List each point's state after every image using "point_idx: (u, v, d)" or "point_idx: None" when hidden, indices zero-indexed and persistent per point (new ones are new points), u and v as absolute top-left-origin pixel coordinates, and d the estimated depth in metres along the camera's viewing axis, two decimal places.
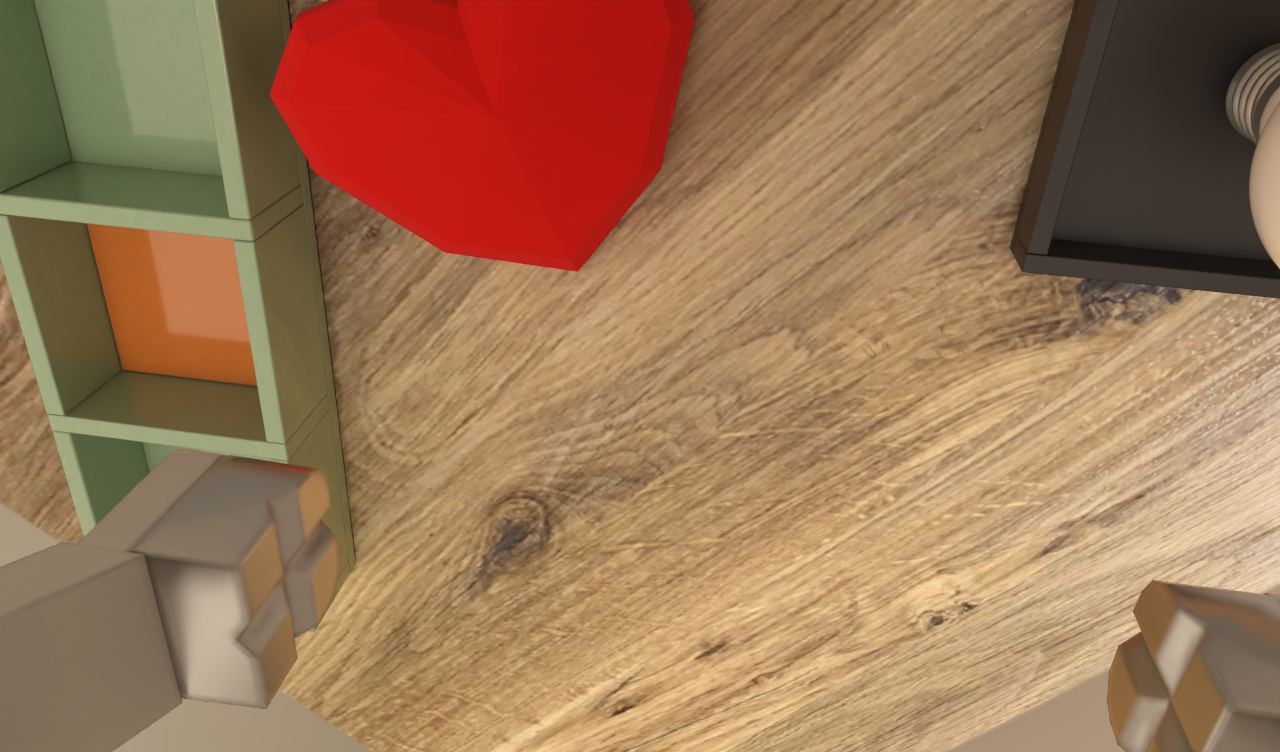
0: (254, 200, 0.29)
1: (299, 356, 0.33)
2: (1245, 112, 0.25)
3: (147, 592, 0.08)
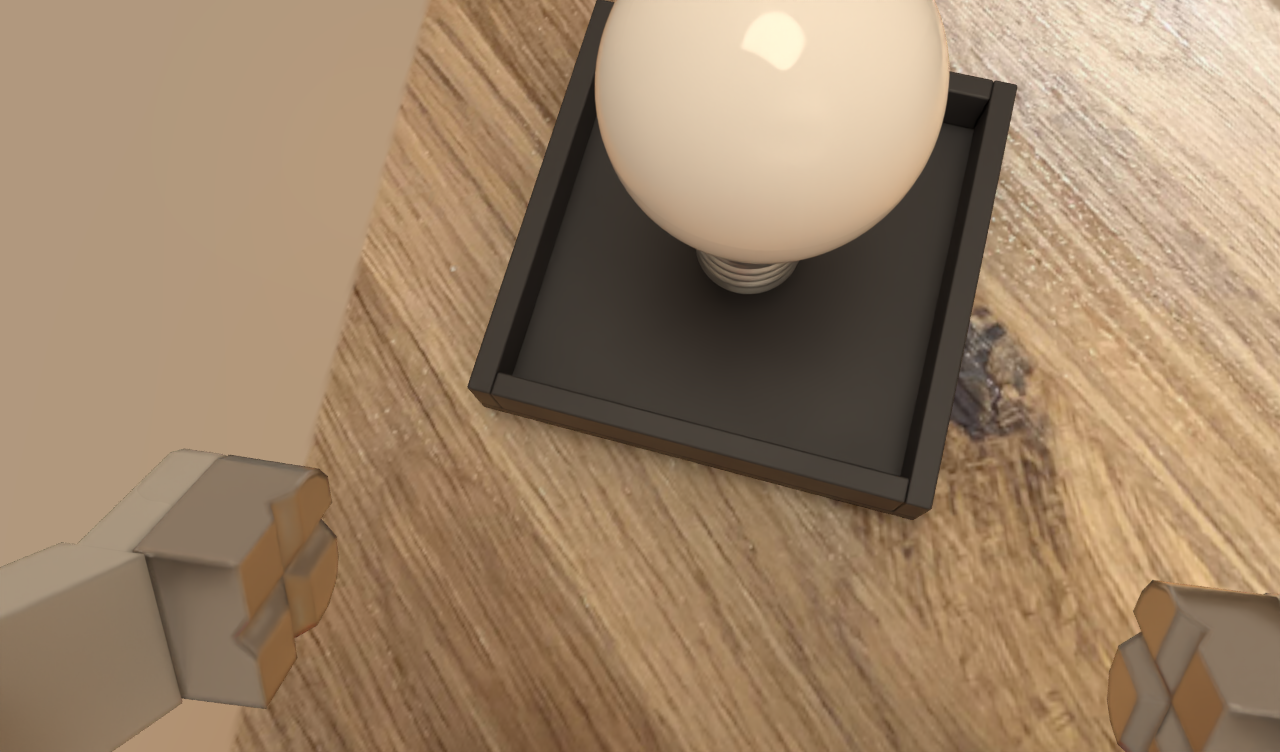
0: None
1: None
2: (751, 274, 0.23)
3: (147, 592, 0.08)
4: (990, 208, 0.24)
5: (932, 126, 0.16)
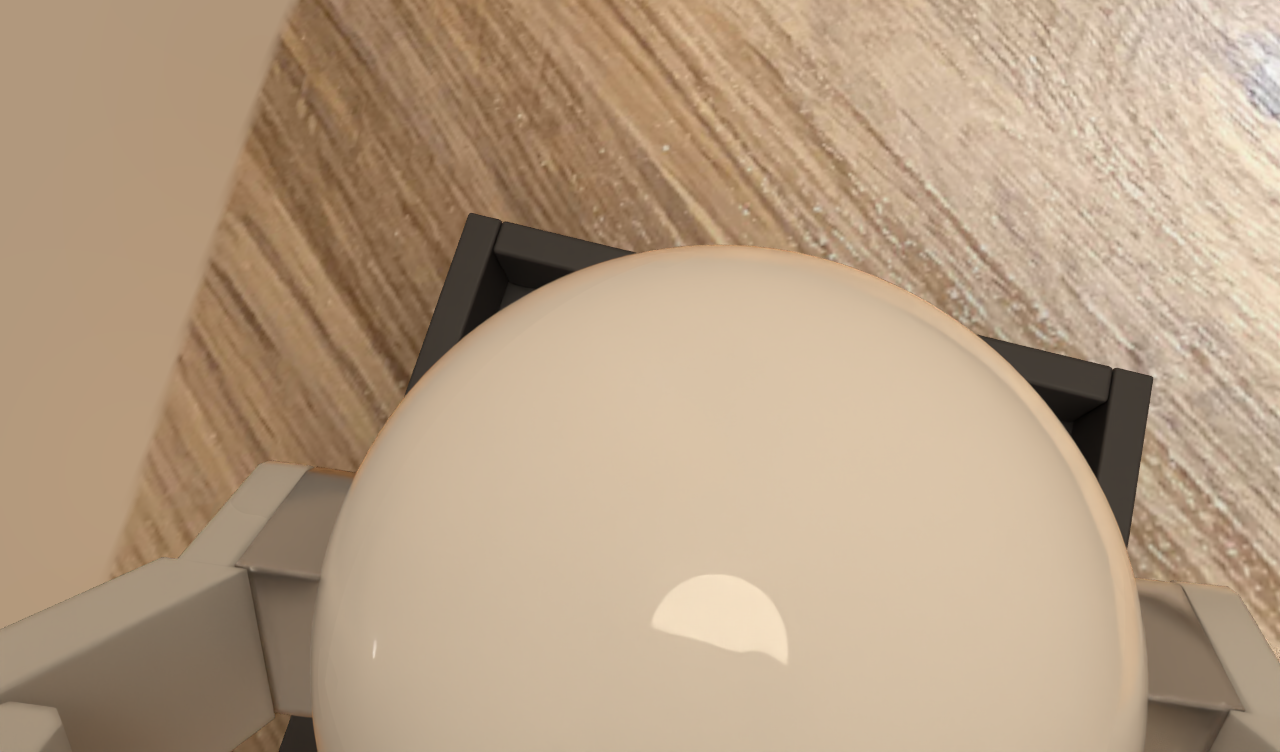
0: None
1: None
2: None
3: (248, 607, 0.08)
4: None
5: None
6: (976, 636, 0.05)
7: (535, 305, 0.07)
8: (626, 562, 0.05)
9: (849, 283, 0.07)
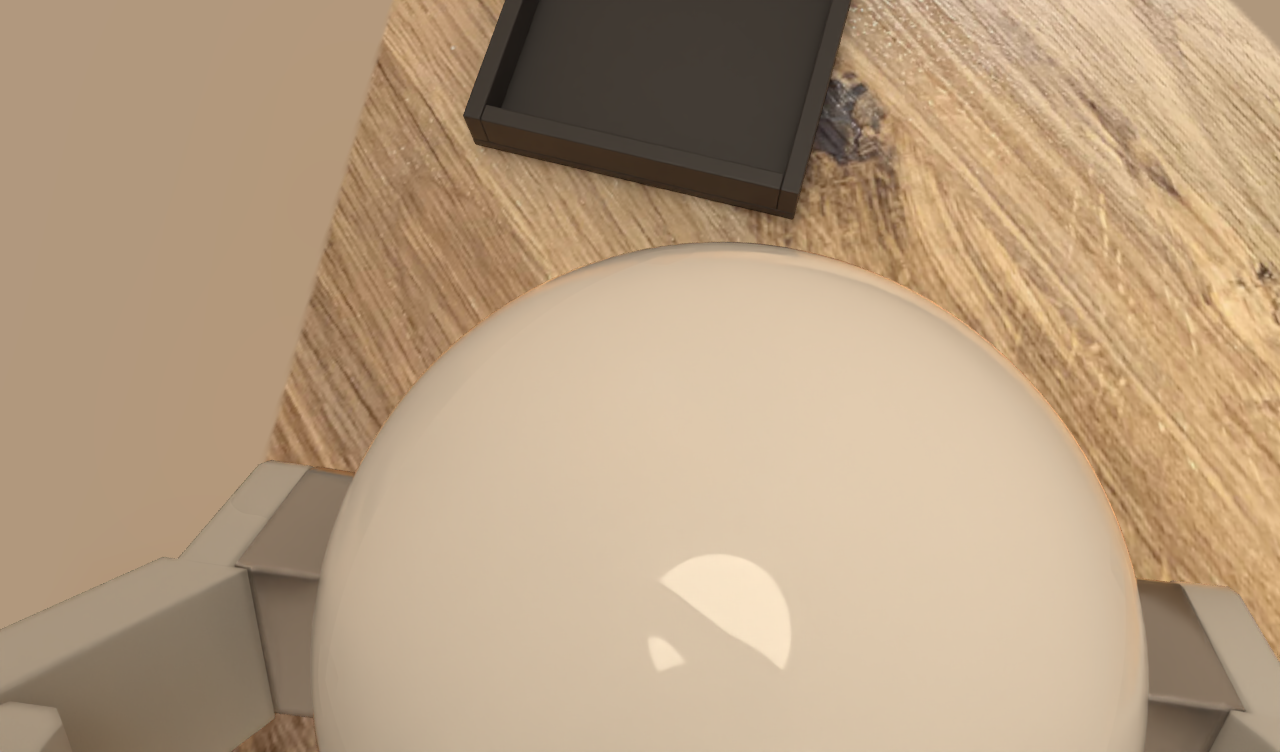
0: None
1: None
2: None
3: (248, 607, 0.08)
4: None
5: None
6: (977, 630, 0.05)
7: (535, 302, 0.07)
8: (626, 556, 0.05)
9: (849, 280, 0.07)
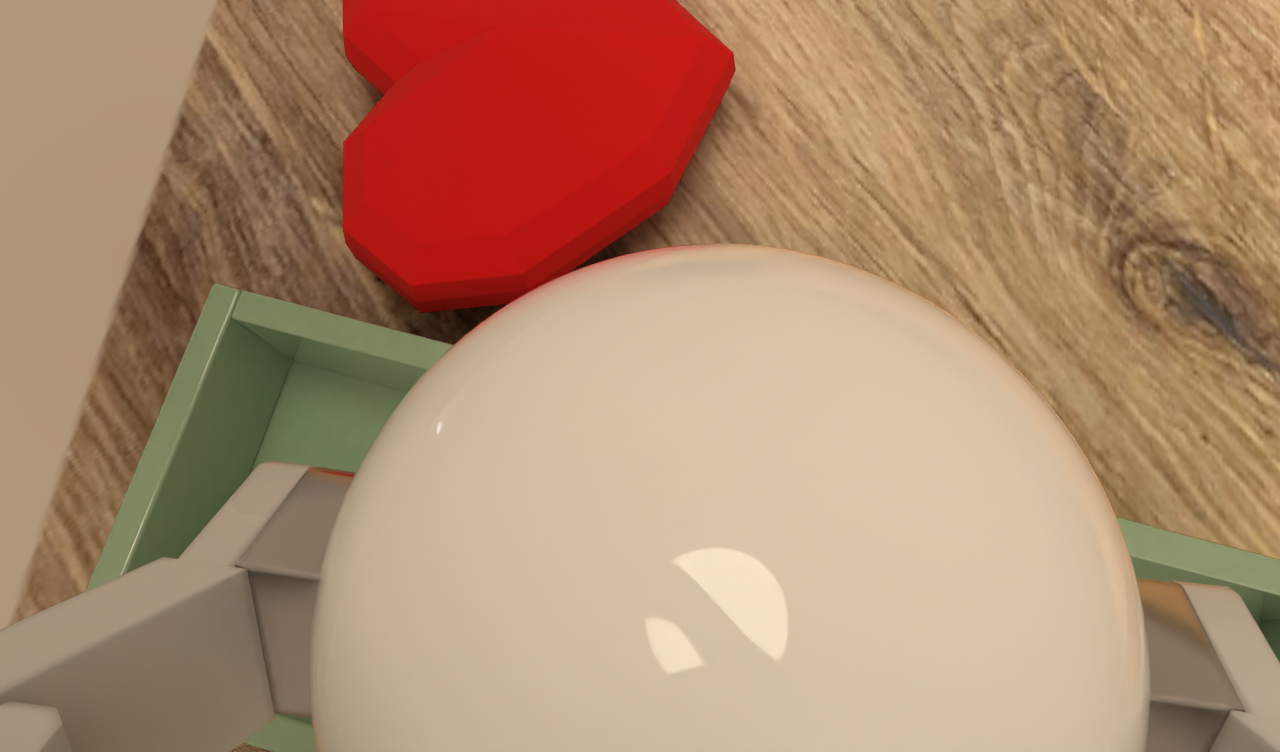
0: None
1: None
2: None
3: (248, 607, 0.08)
4: None
5: None
6: (978, 635, 0.05)
7: (535, 304, 0.07)
8: (626, 561, 0.05)
9: (850, 282, 0.07)
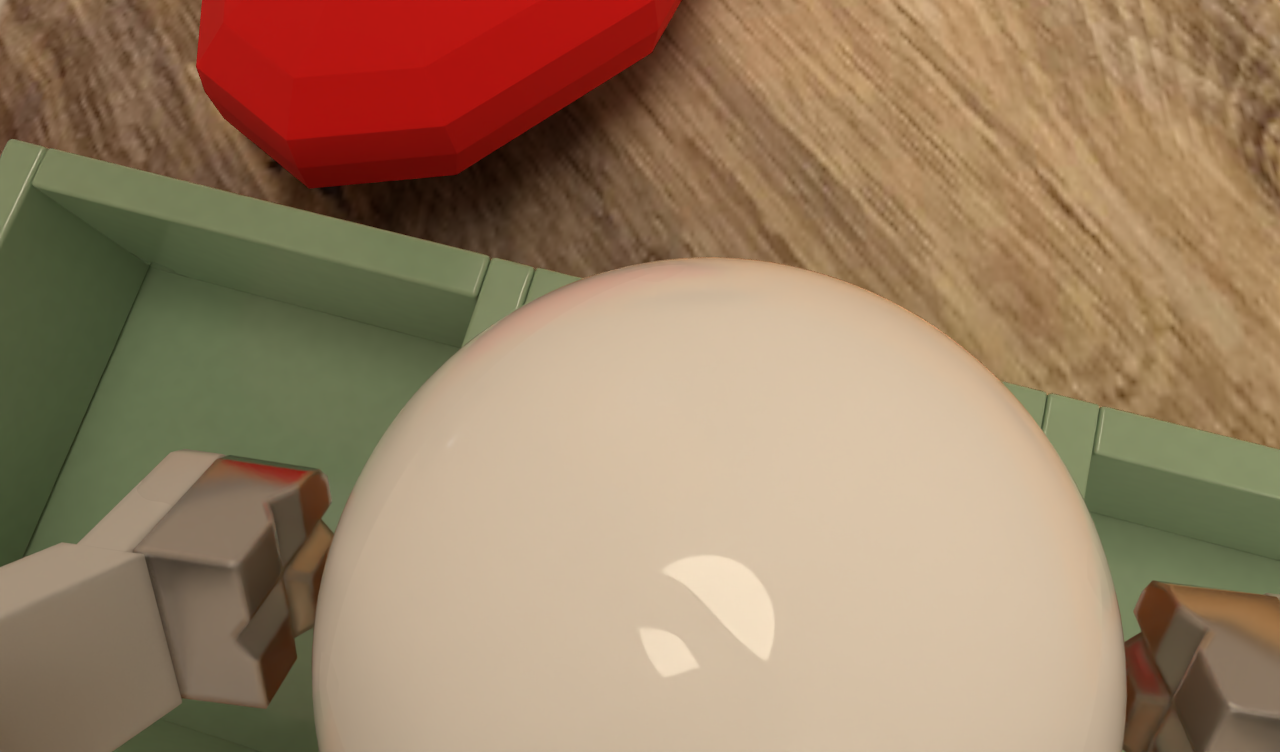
0: None
1: None
2: None
3: (147, 592, 0.08)
4: None
5: None
6: (956, 641, 0.05)
7: (530, 318, 0.07)
8: (618, 570, 0.05)
9: (836, 297, 0.07)
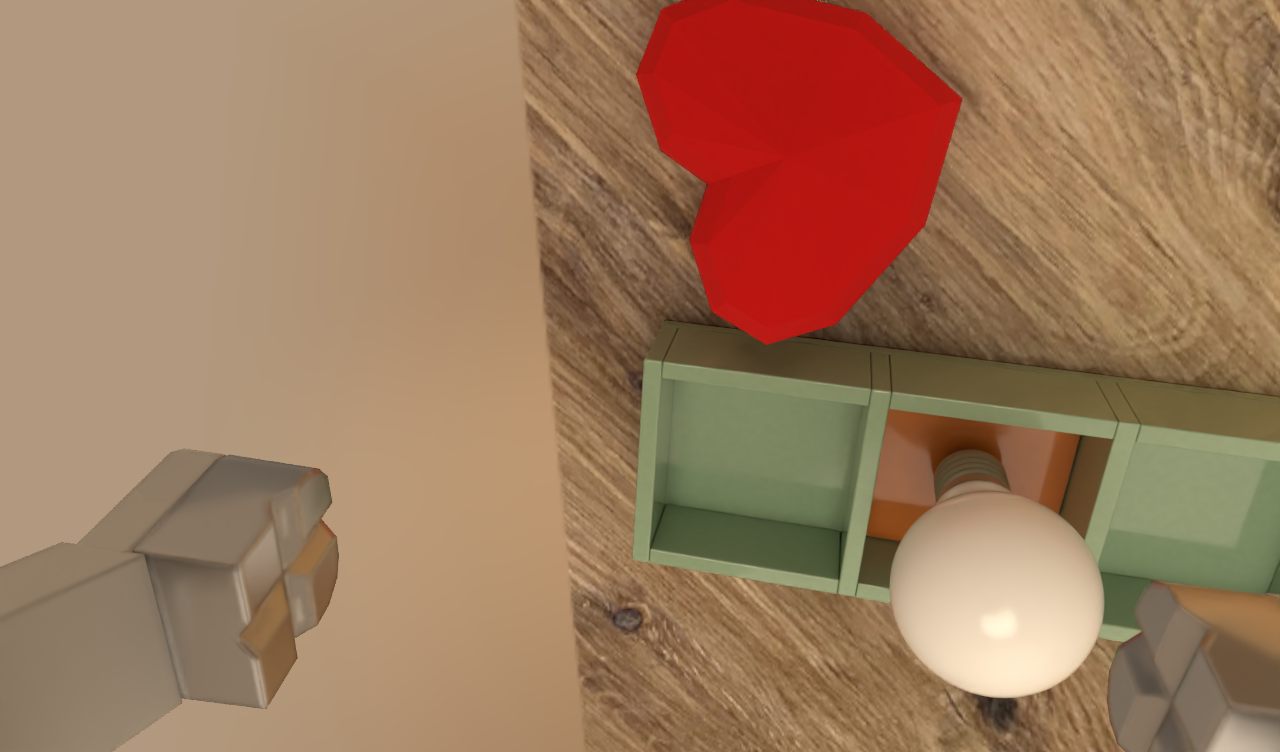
0: (857, 382, 0.34)
1: (1032, 389, 0.34)
2: None
3: (147, 592, 0.08)
4: None
5: None
6: (1055, 650, 0.28)
7: (949, 571, 0.28)
8: (986, 647, 0.28)
9: (1029, 565, 0.28)
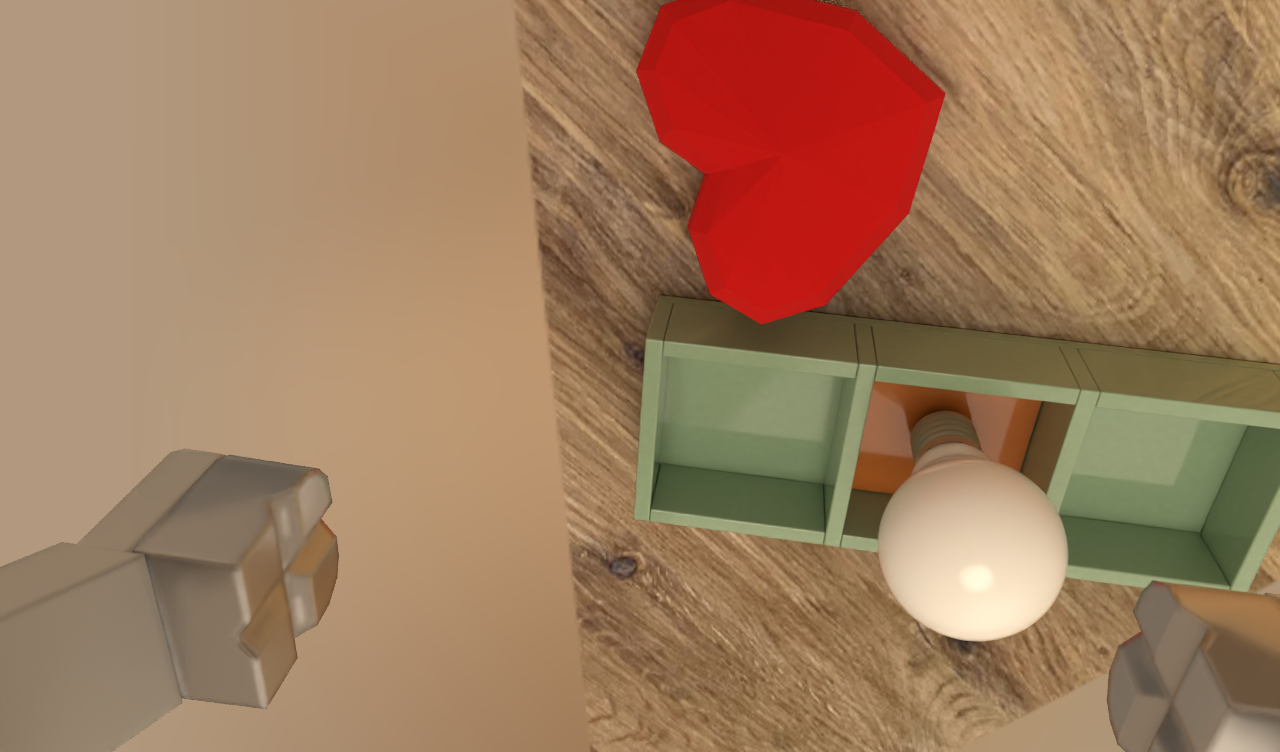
0: (844, 356, 0.36)
1: (1002, 358, 0.37)
2: None
3: (147, 592, 0.08)
4: None
5: None
6: (1026, 602, 0.31)
7: (935, 535, 0.32)
8: (967, 602, 0.31)
9: (1005, 529, 0.31)
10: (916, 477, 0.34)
